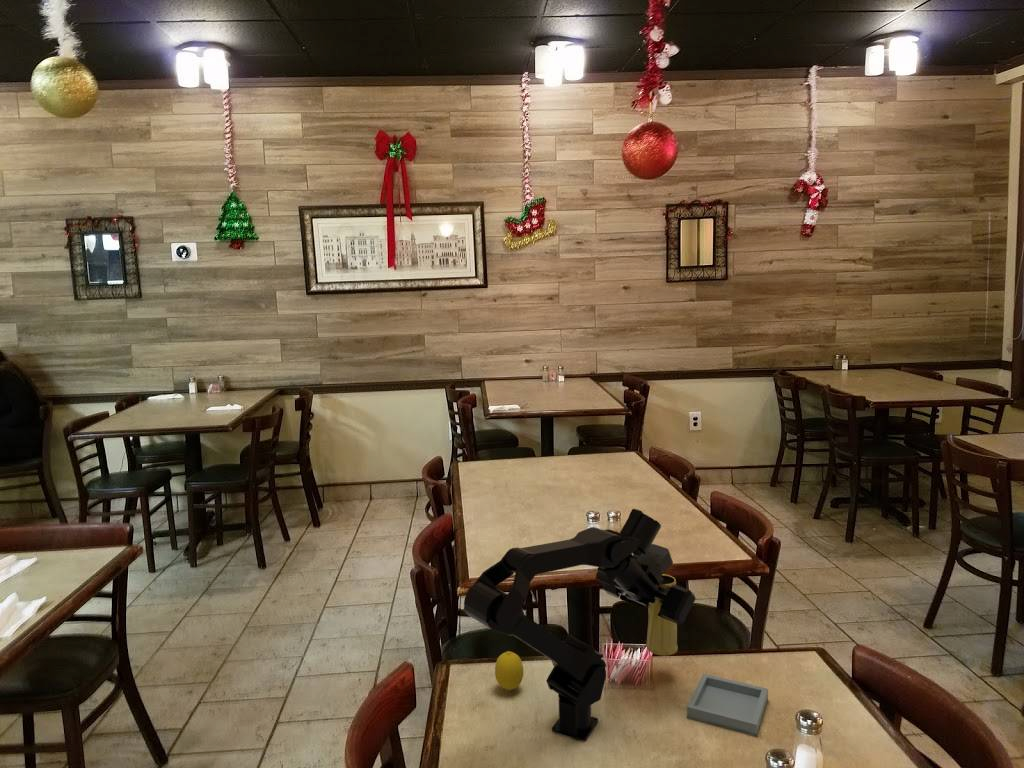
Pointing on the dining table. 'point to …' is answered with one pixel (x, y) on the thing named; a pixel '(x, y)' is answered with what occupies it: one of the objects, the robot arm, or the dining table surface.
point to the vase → (661, 626)
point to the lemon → (509, 670)
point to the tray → (728, 704)
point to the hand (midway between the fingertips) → (666, 611)
